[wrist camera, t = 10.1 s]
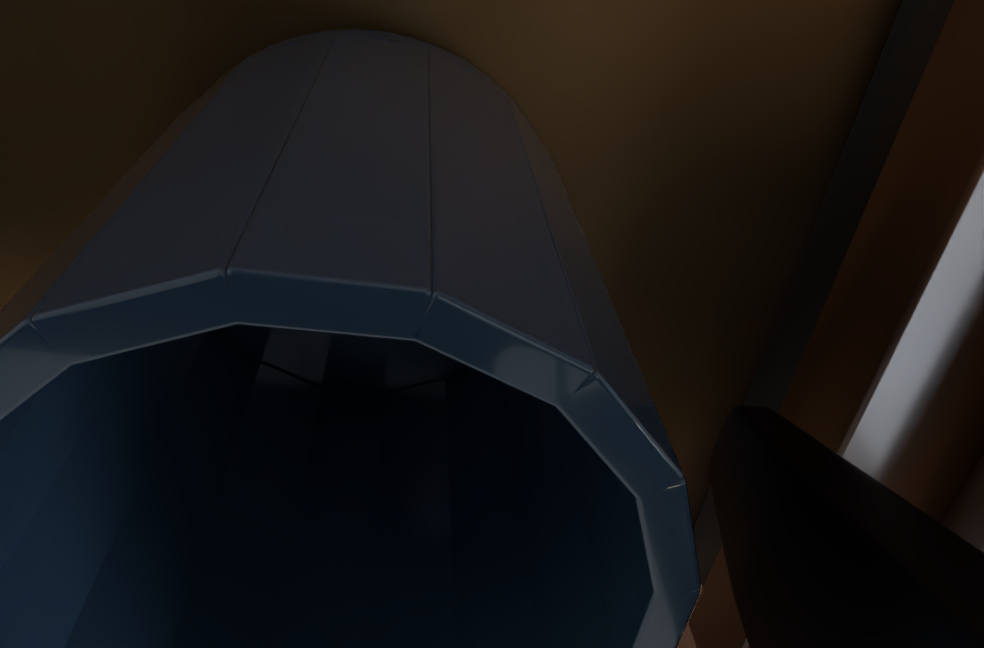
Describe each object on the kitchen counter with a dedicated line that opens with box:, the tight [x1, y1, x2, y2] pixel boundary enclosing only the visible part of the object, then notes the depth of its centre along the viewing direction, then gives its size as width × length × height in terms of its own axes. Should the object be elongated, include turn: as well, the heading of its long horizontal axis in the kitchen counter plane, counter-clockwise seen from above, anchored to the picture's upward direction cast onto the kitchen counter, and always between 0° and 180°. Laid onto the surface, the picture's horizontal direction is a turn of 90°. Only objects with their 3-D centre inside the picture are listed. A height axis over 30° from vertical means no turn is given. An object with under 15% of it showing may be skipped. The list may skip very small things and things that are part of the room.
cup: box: [0, 29, 701, 648], centre depth 9 cm, size 6×6×8 cm
